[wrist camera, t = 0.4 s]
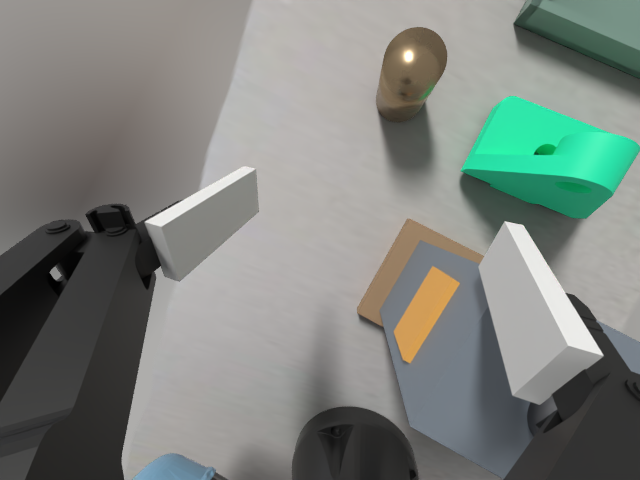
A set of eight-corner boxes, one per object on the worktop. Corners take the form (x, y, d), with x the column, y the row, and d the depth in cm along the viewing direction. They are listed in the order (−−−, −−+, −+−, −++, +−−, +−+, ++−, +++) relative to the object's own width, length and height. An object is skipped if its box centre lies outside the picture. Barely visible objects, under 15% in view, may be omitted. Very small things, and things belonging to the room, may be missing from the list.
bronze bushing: (408, 130, 28) (426, 103, 21) (367, 110, 28) (372, 77, 22) (432, 85, 27) (459, 42, 20) (390, 65, 28) (402, 16, 21)
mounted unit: (480, 375, 30) (688, 639, 11) (357, 308, 31) (361, 449, 12) (541, 286, 28) (904, 427, 10) (407, 218, 29) (500, 228, 11)
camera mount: (604, 148, 26) (765, 107, 16) (564, 217, 27) (689, 220, 17) (491, 104, 27) (574, 38, 17) (456, 172, 28) (514, 149, 18)
